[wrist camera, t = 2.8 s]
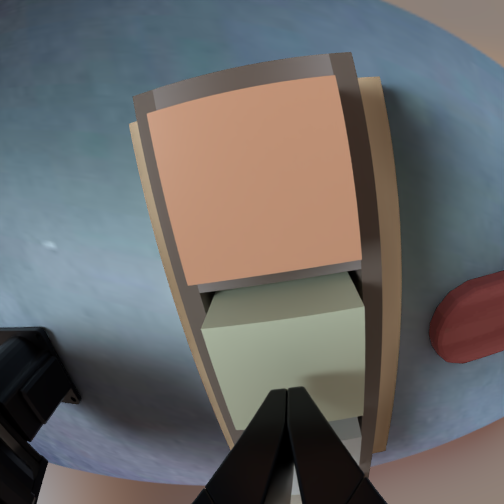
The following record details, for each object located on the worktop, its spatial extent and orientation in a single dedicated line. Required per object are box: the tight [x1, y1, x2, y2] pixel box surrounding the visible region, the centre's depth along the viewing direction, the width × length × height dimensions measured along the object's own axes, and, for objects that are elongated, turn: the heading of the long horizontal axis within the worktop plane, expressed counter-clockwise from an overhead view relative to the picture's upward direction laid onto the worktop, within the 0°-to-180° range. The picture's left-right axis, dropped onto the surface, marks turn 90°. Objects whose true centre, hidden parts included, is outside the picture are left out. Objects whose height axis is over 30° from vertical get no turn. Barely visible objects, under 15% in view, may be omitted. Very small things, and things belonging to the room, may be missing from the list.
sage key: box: [201, 271, 365, 430], centre depth 9 cm, size 4×4×3 cm
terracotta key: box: [147, 75, 362, 286], centre depth 8 cm, size 4×4×3 cm
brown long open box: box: [129, 52, 402, 478], centre depth 13 cm, size 10×21×6 cm, turn 11°
